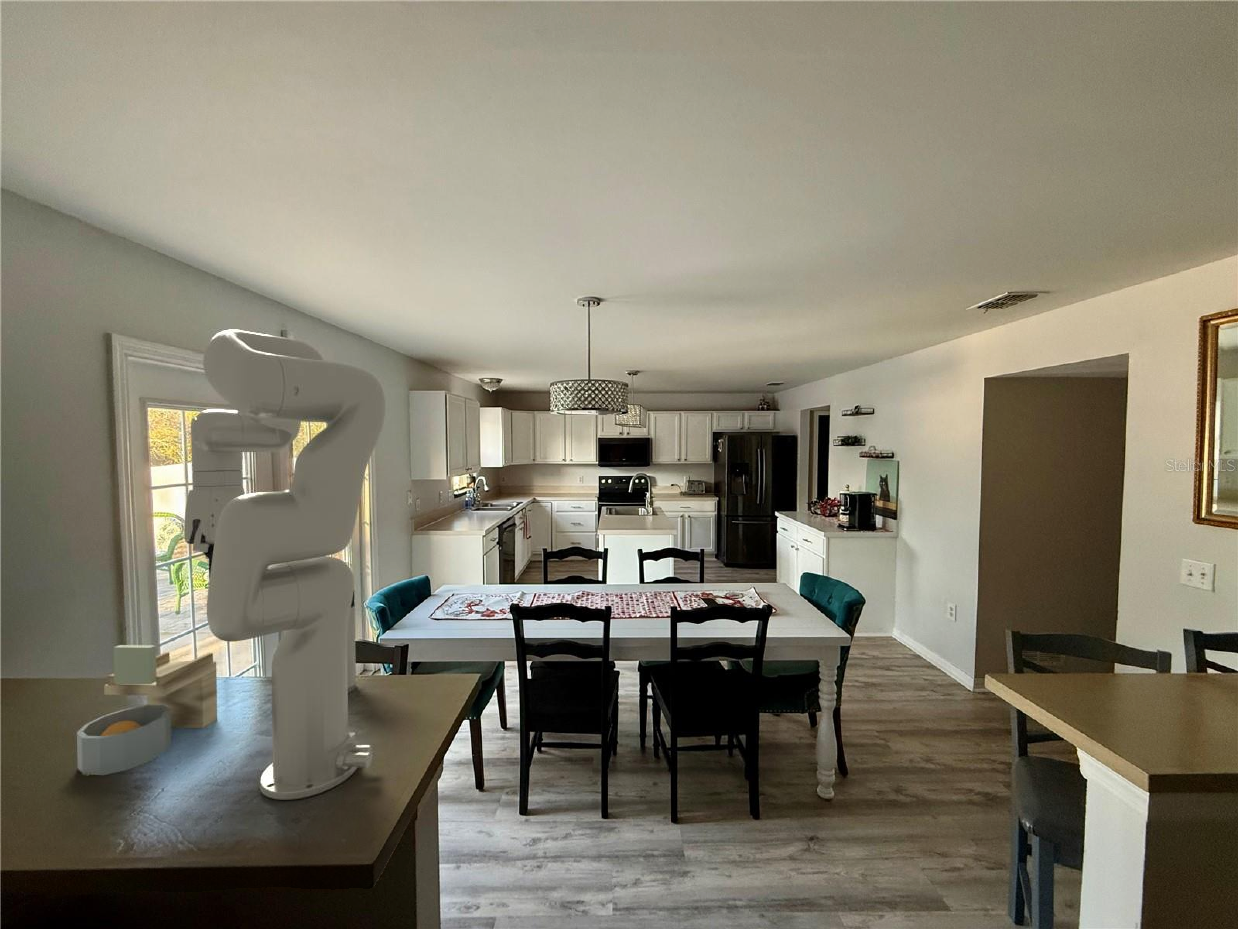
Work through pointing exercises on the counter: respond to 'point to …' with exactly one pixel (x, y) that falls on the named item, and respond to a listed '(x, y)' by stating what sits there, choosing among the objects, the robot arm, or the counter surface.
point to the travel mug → (351, 650)
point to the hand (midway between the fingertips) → (220, 579)
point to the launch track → (179, 690)
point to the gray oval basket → (123, 740)
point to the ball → (120, 727)
